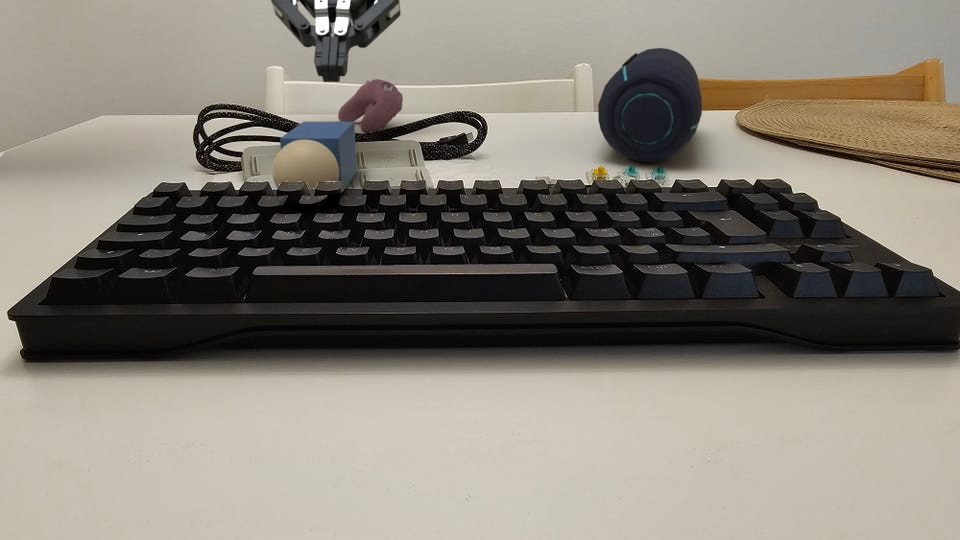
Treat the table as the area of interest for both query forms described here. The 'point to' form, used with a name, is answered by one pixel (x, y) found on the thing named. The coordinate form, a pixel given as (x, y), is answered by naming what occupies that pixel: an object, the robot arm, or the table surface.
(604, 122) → the portable speaker
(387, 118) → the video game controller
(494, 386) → the table surface
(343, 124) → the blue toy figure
